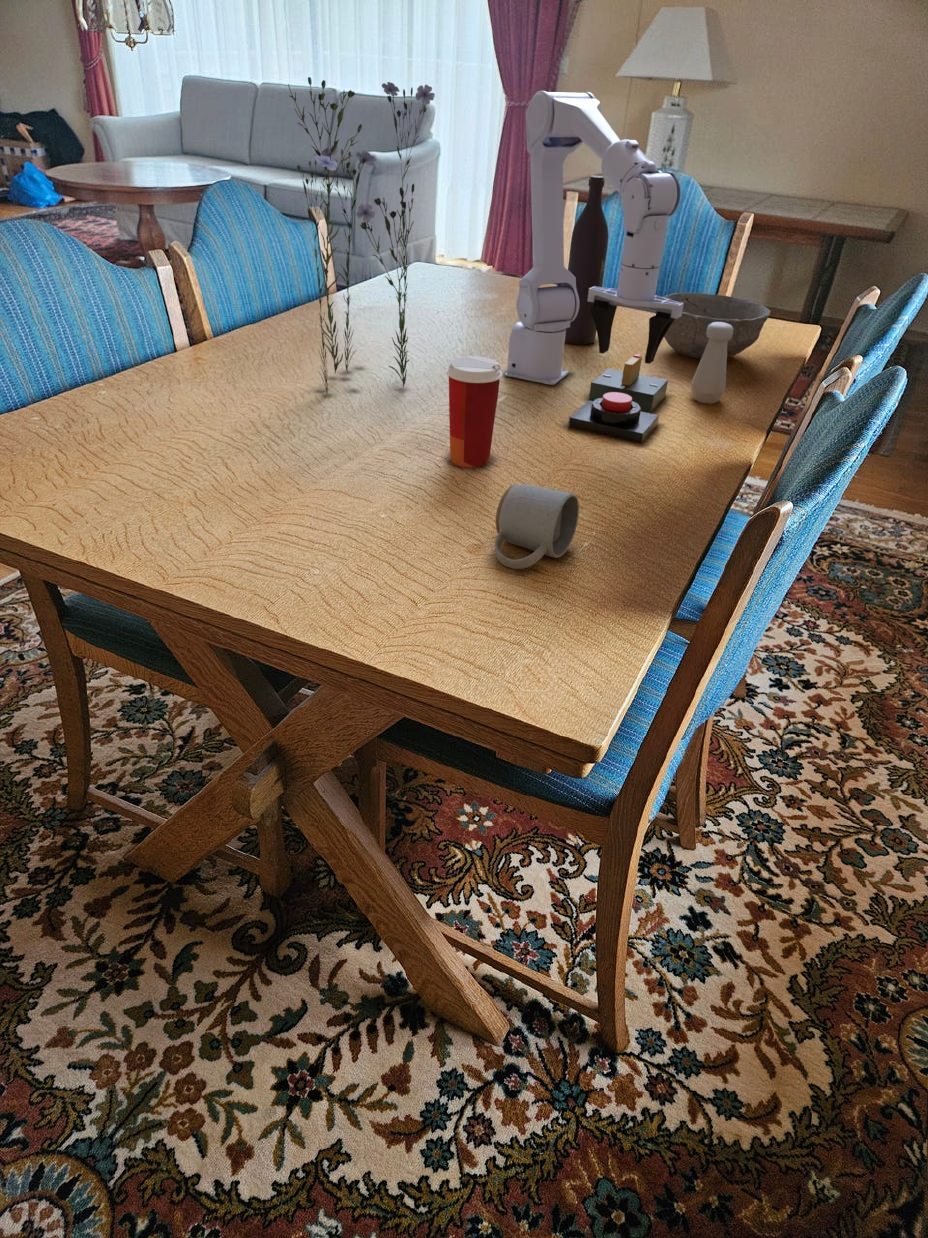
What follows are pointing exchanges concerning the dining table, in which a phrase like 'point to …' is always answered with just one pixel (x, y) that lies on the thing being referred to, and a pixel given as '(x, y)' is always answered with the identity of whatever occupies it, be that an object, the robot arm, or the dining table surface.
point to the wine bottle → (588, 261)
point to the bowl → (710, 308)
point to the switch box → (614, 421)
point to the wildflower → (360, 213)
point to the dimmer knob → (631, 370)
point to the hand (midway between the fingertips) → (626, 356)
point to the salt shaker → (712, 365)
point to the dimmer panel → (630, 388)
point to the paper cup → (472, 408)
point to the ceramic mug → (535, 522)
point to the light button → (616, 401)
